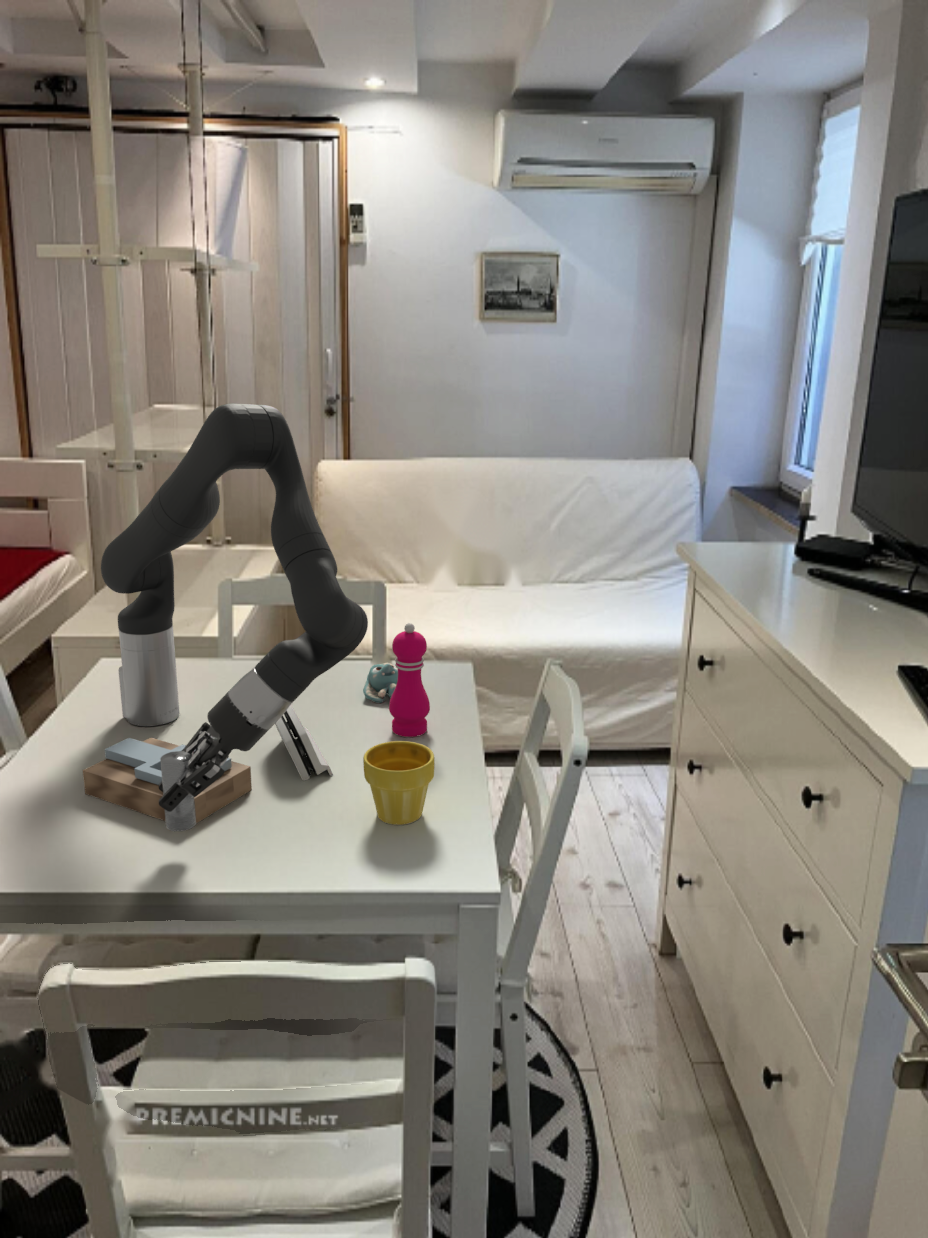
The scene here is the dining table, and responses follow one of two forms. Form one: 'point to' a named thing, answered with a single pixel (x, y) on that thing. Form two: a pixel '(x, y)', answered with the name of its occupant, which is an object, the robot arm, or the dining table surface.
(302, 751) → the white game console
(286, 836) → the dining table surface
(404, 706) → the pepper mill
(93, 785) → the wooden block
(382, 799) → the plant pot
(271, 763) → the dining table surface
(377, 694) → the stuffed animal
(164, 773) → the pin
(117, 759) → the link
